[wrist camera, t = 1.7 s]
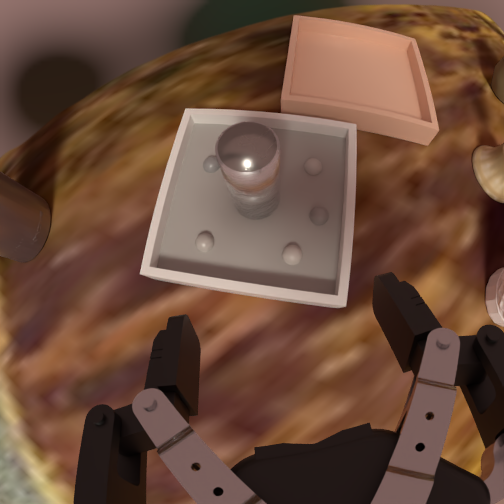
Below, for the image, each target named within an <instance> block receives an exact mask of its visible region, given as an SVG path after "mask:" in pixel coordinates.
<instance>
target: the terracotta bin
mask: <svg viewBox="0 0 504 504" xmlns="http://www.w3.org/2000/svg"><path fill="white" fill-rule="evenodd" d="M281 113H282V114H291V115H300V116H308V117H315V118H322V119H328V120H335V121H341V122H347V123H352V124H356V130H362V131H367V132H372V133H377V134H381V135H386V136H390V137H395V138H399V139H403V140H407V141H411V142H415V143H419V144H423V145H426V146H428V145H429V143H430V142H431V141H432V139H433V138H434V137H435V135H436V134H437V133H438V131H439V127H438V122H437V117H436V112H435V108H434V103H433V99H432V95H431V91H430V87H429V83H428V79H427V76H426V72H425V69H424V65H423V62H422V59H421V55H420V52H419V49H418V46H417V43H416V40H415V39H414V38H410V37H407V36H404V35H400V34H396V33H393V32H389V31H385V30H381V29H377V28H372V27H368V26H363V25H358V24H353V23H348V22H342V21H336V20H330V19H323V18H315V17H306V16H296V15H294V18H293V24H292V31H291V37H290V44H289V50H288V57H287V63H286V70H285V76H284V82H283V89H282V95H281Z"/></svg>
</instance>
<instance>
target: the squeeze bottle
mask: <svg viewBox="0 0 504 504" xmlns="http://www.w3.org/2000/svg"><path fill="white" fill-rule="evenodd" d="M491 87H492V90H493V91H494V93H495V95H496V96H497V97H498V98H499V99H500V101H502V102H503V103H504V57H503V58H502V59H501V60H500V61H499V62H498V63H497V64H496V66H495V69H494V74H493V78H492V83H491Z"/></svg>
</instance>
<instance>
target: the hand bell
mask: <svg viewBox="0 0 504 504" xmlns="http://www.w3.org/2000/svg"><path fill="white" fill-rule="evenodd" d="M472 164H473V170H474V173H475V176H476V178H477V180H478V182H479V184H480V185H481V187H482V188H483V190H484V191H485V192H486V193H487V194H488V195H489V196H490V197H491V198H492V199H494V200H495V201H497V202H500V203H504V143H503V144H501V145H499V146H497V147H491V146H487V145H484V146H479V147H478V148H476V149H475V151H474V153H473V157H472Z"/></svg>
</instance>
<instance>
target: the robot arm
mask: <svg viewBox="0 0 504 504" xmlns="http://www.w3.org/2000/svg"><path fill="white" fill-rule="evenodd" d="M50 220H51V215H50V209H49V205H48V203H47V202H46V201H45V200H44V199H43V198H42V197H40V196H39V195H37V194H35V193H34V192H32V191H30V190H29V189H27V188H26V187H24V186H22V185H21V184H19V183H18V182H16V181H14V180H13V179H11V178H10V177H8V176H6V175H5V174H3V173H2V172H0V256H3V257H6V258H9V259H12V260H16V261H19V262H27V261H30V260H31V259H33V258H34V257H35V256H36V255H37V254H38V253H39V252H40V250H41V249H42V247H43V245H44V243H45V241H46V239H47V236H48V233H49V228H50ZM372 304H373V311H374V314H375V317H376V319H377V321H378V322H379V324H380V326H381V328H382V330H383V332H384V334H385V336H386V338H387V340H388V342H389V344H390V346H391V348H392V350H393V352H394V354H395V356H396V358H397V360H398V362H399V364H400V367H401V369H402V371H403V373H405V372H408V371H411V370H412V371H413V373H414V377H413V381H412V384H411V387H410V391H409V394H408V397H407V400H406V403H405V406H404V409H403V412H402V415H401V417H400V420H399V422H398V425H397V427H396V429H395V432H393V431H390V430H384V429H371V426H370V423H367V424H363V425H360V426H357V427H353V428H349V429H346V430H342V431H340V432H338V433H336V434H334V435H332V436H330V437H328V438H326V439H324V440H322V441H320V442H318V443H315V444H289V443H281V444H275V445H269V446H262V447H254V448H255V454H254V455H251V456H249V457H247V458H245V459H243V460H242V461H240V462H239V463H237V464H236V465H235V466H234V467H233V468H232V469H231V470H230V469H229V468H228V467H227V466H226V465H225V464H224V463H223V462H222V461H221V460H220V459H219V458H218V457H217V456H216V454H215V453H214V452H213V451H212V450H211V449H210V448H209V447H208V446H207V445H206V444H205V443H204V441H203V440H202V439H201V438H200V437H199V436H198V435H197V434H196V432H195V431H194V430H193V429H192V428H191V427H190V425H189V416H196V415H198V393H199V372H200V353H201V350H200V343H199V339H198V337H197V335H196V333H195V330H194V328H193V326H192V324H191V322H190V319H189V317H188V316H187V315H186V314H185V315H179V316H173V317H169V319H168V323H167V329H166V330H161V331H159V333H158V334H157V336H156V338H155V339H154V342H153V346H152V352H151V356H150V359H151V360H150V361H149V367H148V372H147V377H146V383H145V388H144V390H143V391H142V392H140V393H139V394H138V395H137V396H136V397H135V399H134V401H133V403H132V404H130V405H128V406H125V407H122V408H119V409H116V410H113V409H112V408H111V407H109V406H108V405H103V404H102V405H97V406H95V407H93V408H92V409H91V410H90V411H89V412H88V414H87V416H86V419H85V424H84V430H83V435H82V441H81V447H80V454H79V460H78V468H77V475H76V484H75V493H74V504H146V468H147V451H149V450H152V449H155V448H157V449H158V451H157V452H158V454H159V456H160V457H161V459H162V460H163V461H164V463H165V464H166V466H167V467H168V468H169V470H170V471H171V472H172V473H173V475H174V476H175V477H176V479H177V480H178V481H179V482H180V484H181V485H182V486H183V487H184V489H185V490H186V491H187V492H188V493H189V495H190V496H191V497H192V498H193V499H194V500H195V502H196V503H197V504H495V503H497V502H498V501H500V500H501V499H503V498H504V333H503V331H502V330H501V329H500V328H498V327H496V326H494V325H485V326H482V327H481V328H480V329H479V331H478V333H477V335H472V336H458V335H457V334H456V333H455V332H454V331H452V330H450V329H447V328H442V326H441V325H440V323H439V322H438V320H437V319H436V318H435V316H434V315H433V313H432V312H431V310H430V309H429V307H428V306H427V304H425V302H424V300H423V299H422V297H420V295H419V293H418V292H417V290H416V289H415V288H414V287H413V286H412V285H410V284H409V283H407V282H406V281H403V282H399V280H398V279H397V278H396V276H395V275H394V274H393V273H392V272H390V273H386V274H382V275H378V276H375V278H374V290H373V303H372ZM454 386H460V388H461V390H462V392H463V394H464V397H465V399H466V401H467V404H468V406H469V408H470V410H471V413H472V415H473V418H474V420H475V423H476V425H477V428H478V430H479V433H480V435H481V438H482V441H483V443H484V446H485V451H484V452H483V454H482V458H481V470H482V474H481V477H480V478H479V477H478V476H476V475H474V474H472V473H470V472H468V471H466V470H464V469H462V468H460V467H458V466H456V465H454V464H453V463H451V462H449V461H447V460H445V459H443V458H441V457H440V456H441V453H442V449H443V446H444V443H445V439H446V435H447V432H448V428H449V424H450V420H451V416H452V411H453V407H454V402H455V397H456V387H454Z"/></svg>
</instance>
